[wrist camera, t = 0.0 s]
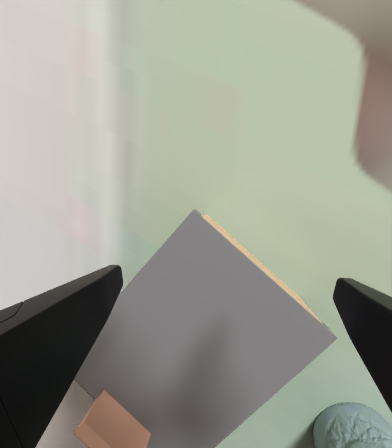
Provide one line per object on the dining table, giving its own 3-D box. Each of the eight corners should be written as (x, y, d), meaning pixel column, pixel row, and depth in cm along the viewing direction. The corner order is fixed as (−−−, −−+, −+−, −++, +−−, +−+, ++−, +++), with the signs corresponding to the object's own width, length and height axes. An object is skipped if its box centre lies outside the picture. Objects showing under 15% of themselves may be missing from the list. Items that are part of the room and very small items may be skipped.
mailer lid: (182, 455, 22) (172, 526, 17) (71, 351, 22) (30, 392, 17) (326, 325, 19) (362, 366, 14) (195, 209, 19) (188, 210, 15)
